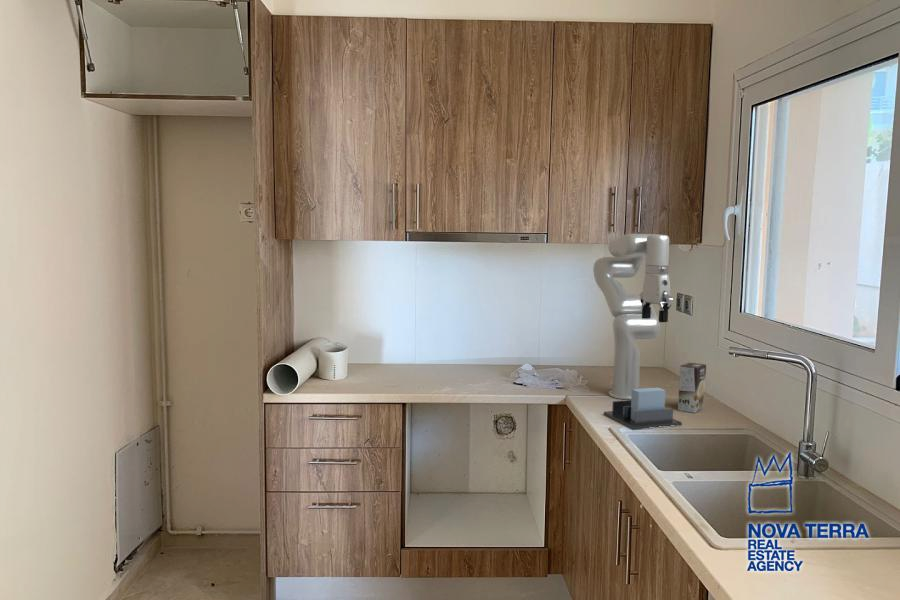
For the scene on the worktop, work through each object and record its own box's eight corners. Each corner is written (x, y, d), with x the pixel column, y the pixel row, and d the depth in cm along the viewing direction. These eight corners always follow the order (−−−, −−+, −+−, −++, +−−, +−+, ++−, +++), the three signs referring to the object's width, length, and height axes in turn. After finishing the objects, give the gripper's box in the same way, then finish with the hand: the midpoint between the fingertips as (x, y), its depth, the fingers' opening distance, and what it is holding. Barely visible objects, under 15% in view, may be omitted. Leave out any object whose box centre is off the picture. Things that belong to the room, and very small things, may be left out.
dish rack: (603, 414, 217) (604, 400, 217) (648, 410, 223) (649, 397, 222) (633, 429, 200) (634, 414, 200) (681, 425, 206) (682, 410, 205)
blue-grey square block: (656, 416, 212) (658, 387, 211) (664, 420, 208) (665, 390, 207) (630, 418, 209) (631, 389, 208) (637, 422, 205) (638, 392, 204)
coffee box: (695, 413, 220) (698, 368, 218) (677, 410, 224) (679, 365, 222) (704, 408, 227) (706, 364, 226) (686, 405, 231) (688, 361, 230)
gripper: (682, 272, 210) (679, 323, 212) (651, 269, 226) (649, 317, 228) (662, 272, 208) (660, 323, 209) (632, 269, 224) (630, 317, 226)
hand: (654, 320), depth 219 cm, fingers open, 9 cm apart
